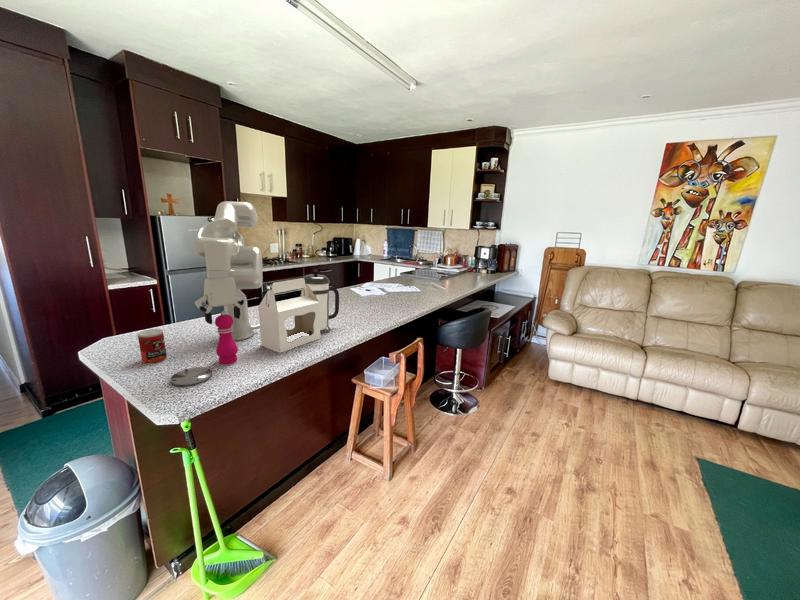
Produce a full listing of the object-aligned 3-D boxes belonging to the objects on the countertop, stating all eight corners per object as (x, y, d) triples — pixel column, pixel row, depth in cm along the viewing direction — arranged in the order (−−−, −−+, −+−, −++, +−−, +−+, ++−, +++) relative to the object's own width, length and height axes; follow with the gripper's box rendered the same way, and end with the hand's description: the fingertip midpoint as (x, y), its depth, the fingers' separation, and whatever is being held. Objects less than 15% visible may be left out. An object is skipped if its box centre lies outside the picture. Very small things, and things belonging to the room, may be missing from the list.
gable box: (302, 332, 160) (299, 275, 154) (321, 338, 153) (319, 278, 147) (260, 346, 143) (255, 281, 136) (279, 353, 135) (275, 286, 129)
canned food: (147, 365, 121) (143, 337, 118) (138, 360, 125) (133, 332, 123) (171, 358, 127) (167, 331, 125) (161, 354, 131) (157, 327, 129)
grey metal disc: (204, 367, 121) (203, 363, 121) (218, 377, 114) (218, 373, 114) (165, 378, 112) (165, 374, 112) (178, 390, 105) (177, 386, 105)
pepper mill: (230, 366, 123) (224, 314, 118) (212, 364, 124) (207, 312, 119) (242, 358, 129) (238, 309, 125) (226, 356, 131) (221, 307, 126)
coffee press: (326, 337, 154) (327, 273, 148) (294, 333, 157) (293, 270, 150) (339, 326, 171) (340, 268, 165) (309, 323, 174) (309, 266, 167)
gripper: (238, 271, 127) (242, 314, 131) (188, 275, 114) (193, 323, 118) (248, 273, 123) (251, 318, 126) (196, 278, 110) (202, 327, 113)
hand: (223, 320), depth 122 cm, fingers open, 9 cm apart
